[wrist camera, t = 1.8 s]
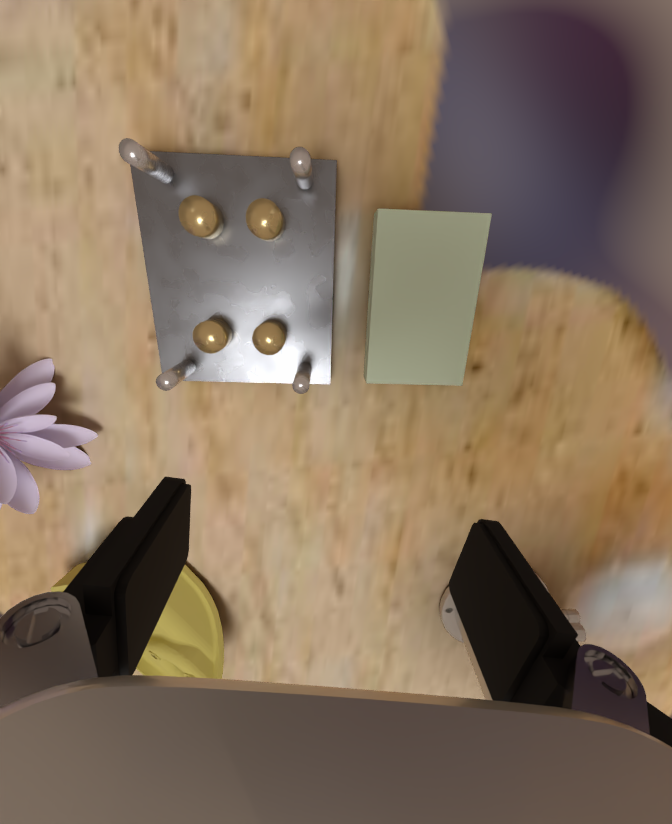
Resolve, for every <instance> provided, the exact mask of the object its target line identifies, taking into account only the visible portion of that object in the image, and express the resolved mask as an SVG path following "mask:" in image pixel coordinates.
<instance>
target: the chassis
mask: <svg viewBox="0 0 672 824" xmlns="http://www.w3.org/2000/svg"><path fill="white" fill-rule="evenodd" d="M119 153H120V156H121V157H122V159H123V160H124V161H125V162H127V163H129V164H130V166H131V172H132V179H133V186H134V192H135V199H136V205H137V212H138V218H139V225H140V231H141V238H142V245H143V251H144V258H145V264H146V271H147V277H148V284H149V290H150V297H151V304H152V310H153V317H154V323H155V330H156V336H157V343H158V349H159V356H160V363H161V369H162V374H161V375H159V376H158V377H157V379H156V384H157V386H158V387H159V388H160V389H162V390H165V391H167V390H170V389H172V388H173V387H174V386H176V385H177V384H178V383H180V382H181V381H217V382H259V383H293V385H292V386H293V389H294V391H295V392H297V393H299V394H303V393H305V392H307V391H308V389H309V385H310V384H330V377H331V342H332V307H333V272H334V237H335V202H336V167H337V160H322V159H310V155H309V152H308V151H307V150H306V149H305V148H303V147H296V148H294V149H293V150H292V152H291V154H290V158H280V157H259V156H239V155H218V154H197V153H176V152H155V151H148V150H147V149H145V148H144V147H142V146H141V145H140V144H138V143H137V142H135V141H134V140H132V139H129V138H126V139H123V140H122V141H121V142H120V144H119Z"/></svg>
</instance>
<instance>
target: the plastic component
mask: <svg viewBox="0 0 672 824" xmlns="http://www.w3.org/2000/svg"><path fill="white" fill-rule="evenodd" d="M86 563H87V562H85V563H81V564H78V565H77V566H75V567H74V568H73V569H72V570H71V571H70V572H69V573H67V574H66V575H65V576H64V577H63V578H62V579H61V580H59V581H58V582H57V583H56V584H55V585H54V586H53V587H52V588H51V591H52V592H58V591H59V592H63V591H64V590H65V589H66V587H67V586H68V585H69V584H70V583H71V581H72V580H73V579H74V578H75V576H76V575H77V574H78V573H79V571H80V570H81V569H82V568H83V566H84V565H85V564H86ZM223 663H224V643H223V632H222V625H221V621H220V617H219V613H218V610H217V608H216V605H215V603H214V601H213V599H212V597H211V595H210V593H209V592H208V590H207V589H206V587H205V586H204V584H203V583H202V582H201V581H200V580H199V579H198V578H197V576H196V575H195V574H194V573H193V572H192V571H191V570H190V569H189V568H188V567H187V566H186V565H184V567H183V569H182V572H181V574H180V576H179V578H178V580H177V582H176V584H175V586H174V589H173V591H172V593H171V595H170V597H169V599H168V601H167V603H166V606H165V608H164V610H163V612H162V614H161V616H160V618H159V621H158V623H157V625H156V627H155V629H154V631H153V633H152V635H151V638H150V640H149V642H148V644H147V646H146V648H145V650H144V653H143V655H142V657H141V659H140V661H139V663H138V665H137V667H136V669H137V670H138V671H139V672H140V673H141V674H143V675H145V676H175V677H194V678H212V679H222V674H223Z"/></svg>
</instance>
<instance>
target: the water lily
mask: <svg viewBox="0 0 672 824" xmlns="http://www.w3.org/2000/svg"><path fill="white" fill-rule="evenodd" d="M54 369H55V366H54V365H53V363H52V359H50V358H49V359H44V360H40V361H38V362H35V363H33V364H31V365H30V366H28V367H26V368H25V369H23V370H22V371H21V372H20V373H18V374H17V375H16V376H15V377H14V378H13V379H12V380H11V381H10V382H9V383H8V384H7V385H6V386H5V387H4V388H3V389H2V390H1V392H0V509H1V506H2V504H8V505H9V506H11V507H12V508H14V509H15V510H17V511H20V512H22V513H26V514H34V513H35V512H36V510H37V508H38V505H39V491H38V487H37V484H36V482H35V480H34V478H33V476H32V475H31V473H30V471H29V470H28V468H27V467H26V466H25V465H24V464H23V463H22V462H21V461H24V462H26V463H29V464H32V465H35V466H40V467H44V468H49V469H56V470H74V469H80V468H84V467H86V466H89V465H90V464H92V463H91V462H90V460H89V456H88V455H87V454H86V453H84V452H83V451H81V450H80V449H78V448H76V447H75V446H79V445H83V444H86V443H88V442H90V441H92V440H94V439H95V438H96V437H97V436H98V434H97V433H96V432H94V431H92V430H90V429H87V428H84V427H80V426H75V425H67V424H53V423H54V422H55V421H56V419H57V416H54V415H35V414H36V413H38V412H39V411H40V410H42V409H43V408H44V407H45V406H46V405H47V404H48V403H49V402H50V400H51V399H52V397H53V395H54V393H55V389H56V385H55V383H51V381H52V378H53V375H54ZM20 460H21V461H20Z"/></svg>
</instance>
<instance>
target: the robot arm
mask: <svg viewBox="0 0 672 824" xmlns="http://www.w3.org/2000/svg"><path fill="white" fill-rule="evenodd" d="M190 504H191V485H189V484H186V482H185V480H184V479H180V478H172V477H165V478H164V479H163V480H162V481H161V482H160V484H159V485H158V486H157V487H156V489H155V490H154V491H153V493H152V494H151V495H150V497H149V498H148V499H147V501H146V502H145V503H144V504H143V506H142V507H141V508H140V510H139V511H138V512H137V514H136V515H135V516H134V517H125V518H123V519H122V520H121V521H120V522H119V523H118V524H117V526H116V527H115V528H114V529H113V531H112V532H111V533H110V534H109V535H108V537H107V538H106V539H105V540H104V542H103V543H102V544H101V545H100V547H99V548H98V549H97V550H96V552H95V553H94V554H93V555H92V557H91V558H90V559H89V560H88V561H87V563H86V564H85V565H84V566H83V568H82V569H81V570H80V571H79V573H78V574H77V575H76V576H75V578H74V579H73V580H72V581H71V583H70V584H69V585H68V586H67V587H66V589H65V590H64V591H63V592H59V591H58V592H46V593H43V594H39V595H35V596H33V597H31V598H28V599H26V600H24V601H22V602H20V603H18V604H17V605H15V606H14V607H12V608H11V609H9V610H8V611H7V612H6V613H5V614H4V615H3V616H2V617H1V618H0V824H672V719H671V718H670V717H668V716H667V715H665V714H664V713H663V712H661V711H660V710H658V709H657V708H655V707H654V706H653V705H651V704H650V703H648V702H647V700H646V694H645V690H644V687H643V685H642V684H641V682H640V680H639V679H638V677H637V676H636V675H635V673H634V672H633V671H632V670H631V669H630V668H629V667H628V666H627V665H626V664H625V663H624V662H623V661H622V660H621V659H619V658H618V657H616V656H615V655H614V654H612V653H611V652H609V651H607V650H605V649H603V648H601V647H598V646H595V645H592V644H584V645H582V646H580V645H579V643H578V642H577V641H585V640H586V633H585V630H584V628H583V626H582V625H581V624H580V623H579V622H580V615H579V613H578V611H577V610H576V609H562V610H561V609H560V608H559V607H558V605H557V604H556V602H555V601H554V599H553V598H552V597H551V595H550V594H549V592H548V589H547V587H546V585H545V584H544V582H543V581H542V579H541V578H540V577H539V576H538V575H537V574H536V573H535V572H534V571H533V569H532V568H531V567H530V565H529V564H528V562H527V561H526V559H525V558H524V557H523V555H522V554H521V552H520V551H519V549H518V548H517V547H516V545H515V544H514V542H513V541H512V539H511V538H510V537H509V535H508V534H507V532H506V531H505V529H504V528H503V527H502V525H501V524H500V523H499V522H497V521H492V520H484V519H480V520H479V521H478V522H477V523H474V524H473V525H472V527H471V530H470V532H469V535H468V537H467V540H466V542H465V544H464V547H463V549H462V552H461V554H460V557H459V559H458V561H457V564H456V566H455V569H454V571H453V574H452V576H451V579H450V582H449V587H448V588H447V589H446V590H445V592H444V594H443V596H442V598H441V602H440V616H441V619H442V622H443V625H444V627H445V629H446V630H447V632H448V633H449V634H450V635H451V636H452V637H454V638H455V639H456V640H458V641H460V642H462V643H464V644H465V646H466V649H467V652H468V654H469V657H470V660H471V662H472V665H473V668H474V670H475V673H476V676H477V678H478V681H479V684H480V686H481V689H482V692H483V694H484V697H485V700H482V699H470V698H459V697H447V696H435V695H424V694H412V693H399V692H387V691H374V690H362V689H349V688H336V687H323V686H310V685H297V684H283V683H269V682H256V681H242V680H228V679H212V678H194V677H175V676H145V675H132V674H133V673H134V671H135V669H136V667H137V665H138V663H139V661H140V659H141V657H142V655H143V653H144V650H145V648H146V646H147V644H148V642H149V640H150V638H151V635H152V633H153V631H154V629H155V627H156V625H157V623H158V621H159V618H160V616H161V614H162V612H163V610H164V608H165V606H166V603H167V601H168V599H169V597H170V595H171V593H172V591H173V589H174V586H175V584H176V582H177V580H178V578H179V576H180V574H181V572H182V569H183V567H184V565H185V563H186V560H187V557H188V552H189V529H190Z"/></svg>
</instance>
